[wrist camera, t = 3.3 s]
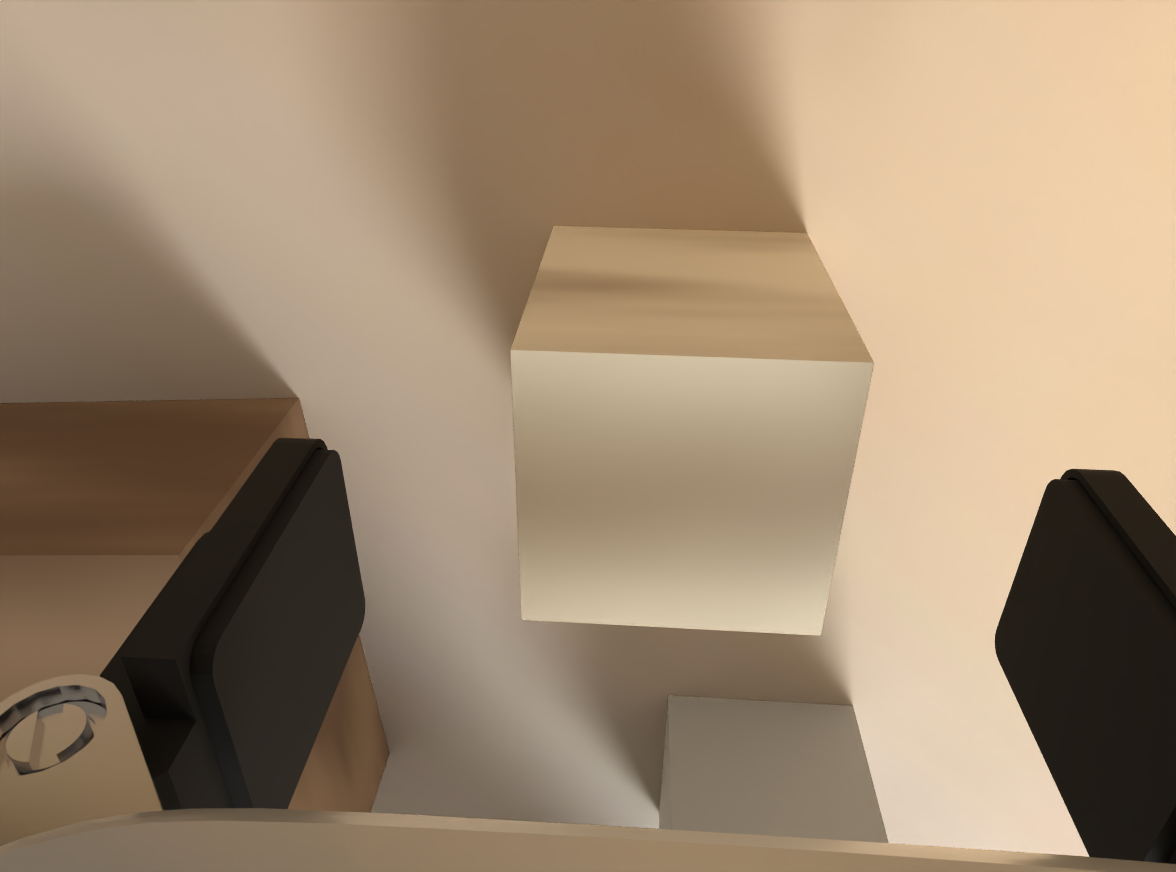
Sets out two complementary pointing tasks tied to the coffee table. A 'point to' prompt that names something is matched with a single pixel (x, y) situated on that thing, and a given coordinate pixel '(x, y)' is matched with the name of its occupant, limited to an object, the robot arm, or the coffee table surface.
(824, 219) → the coffee table surface
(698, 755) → the slate-grey block
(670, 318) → the birch block
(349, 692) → the walnut block
